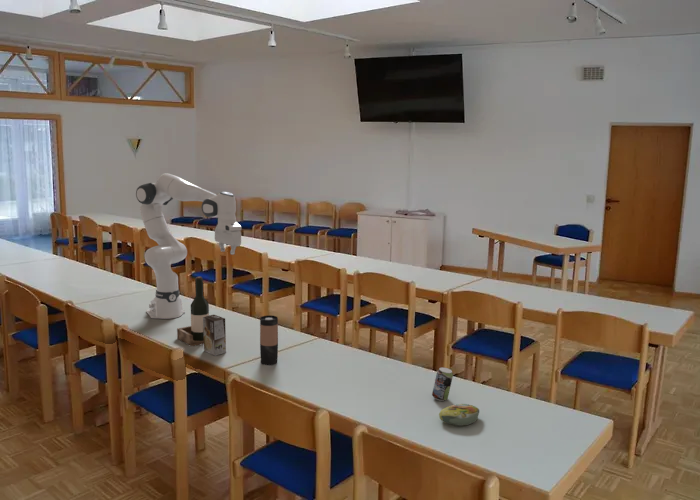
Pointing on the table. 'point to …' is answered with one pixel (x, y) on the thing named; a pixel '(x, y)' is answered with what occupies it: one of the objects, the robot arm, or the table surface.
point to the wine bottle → (198, 311)
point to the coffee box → (214, 334)
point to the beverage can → (442, 384)
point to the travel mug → (269, 339)
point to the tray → (187, 336)
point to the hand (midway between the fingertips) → (227, 252)
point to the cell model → (459, 414)
